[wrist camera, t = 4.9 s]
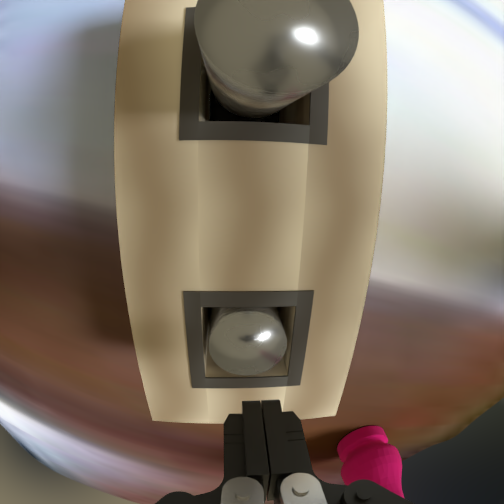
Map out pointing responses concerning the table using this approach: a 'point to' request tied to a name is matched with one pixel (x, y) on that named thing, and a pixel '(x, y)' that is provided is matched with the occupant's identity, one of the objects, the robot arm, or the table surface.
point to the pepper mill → (370, 459)
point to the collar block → (243, 217)
